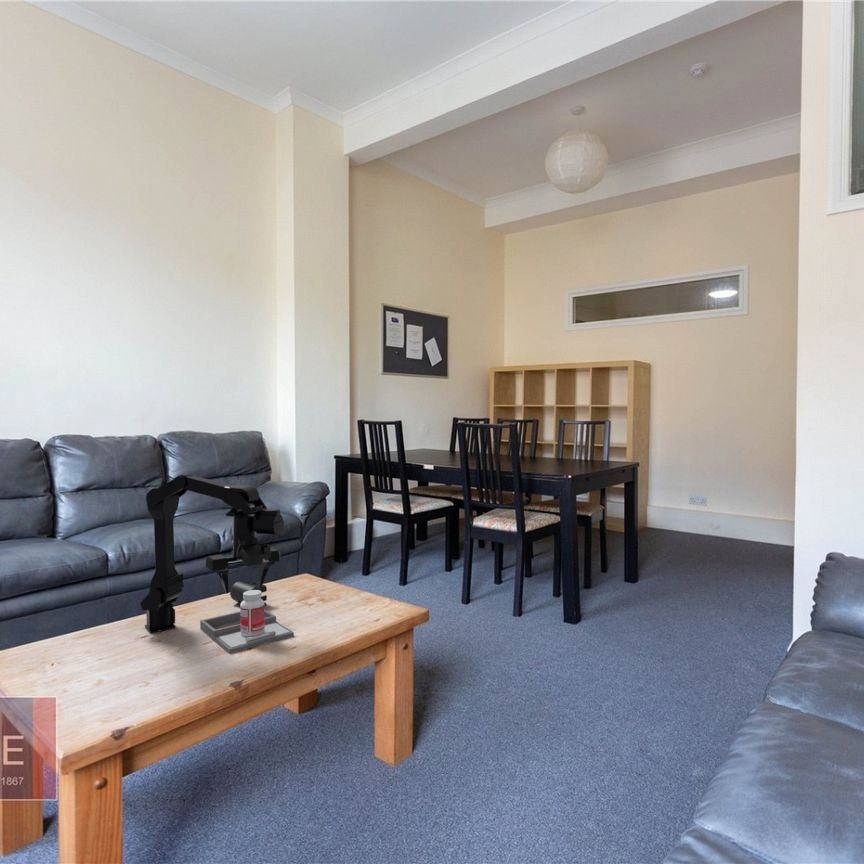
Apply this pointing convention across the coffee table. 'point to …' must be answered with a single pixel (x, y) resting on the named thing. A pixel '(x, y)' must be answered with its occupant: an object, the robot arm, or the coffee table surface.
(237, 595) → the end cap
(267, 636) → the stay rod
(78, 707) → the coffee table surface
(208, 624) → the case
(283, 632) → the case lid
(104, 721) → the coffee table surface
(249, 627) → the pill bottle
